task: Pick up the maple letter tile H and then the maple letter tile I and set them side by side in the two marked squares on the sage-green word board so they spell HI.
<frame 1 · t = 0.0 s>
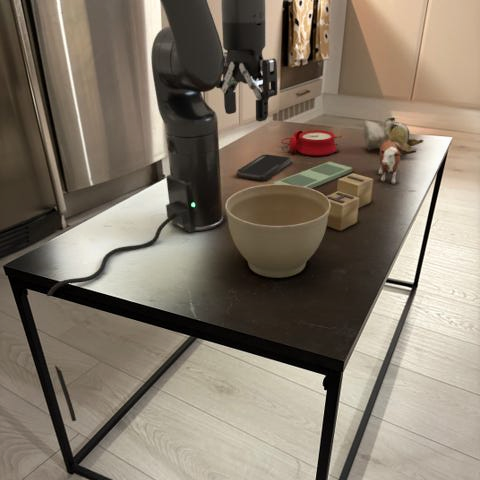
hand: (245, 116, 96), 17 cm above the table, tool pointing down, fingers open, 8 cm apart
tile H: (338, 223, 96), on the table
word board: (313, 179, 116), on the table
tile I: (353, 202, 104), on the table
phone: (264, 170, 122), on the table
alarm clock: (309, 151, 134), on the table
bull figurine: (386, 179, 115), on the table
ceramic sculpture: (389, 152, 131), on the table
planter bowl: (276, 265, 84), on the table
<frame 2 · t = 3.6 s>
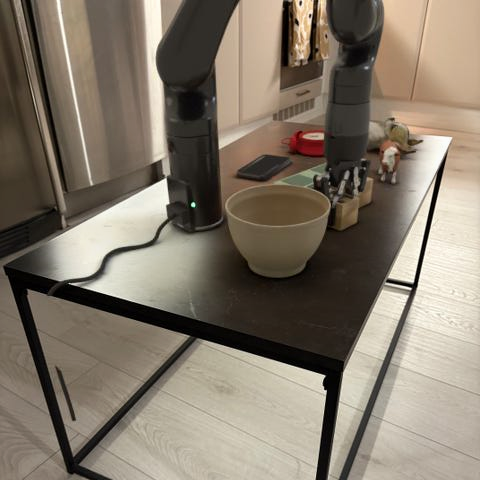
hand: (338, 220, 96), 1 cm above the table, tool pointing down, fingers closed on tile H, 5 cm apart
tile H: (338, 222, 96), on the table, touching gripper
everything else where it was.
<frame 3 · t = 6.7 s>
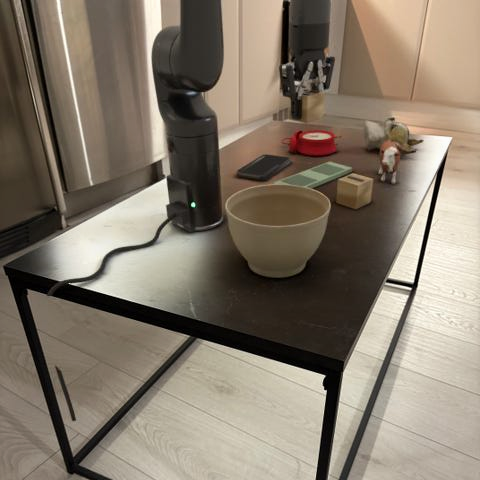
hand: (305, 115, 103), 15 cm above the table, tool pointing down, fingers closed on tile H, 5 cm apart
tile H: (305, 118, 103), point 15 cm above the table, touching gripper
everything else where it was.
when the fingers open (2 cm above the table, at t = 10.3 s): tile H stays where it is, resting on word board.
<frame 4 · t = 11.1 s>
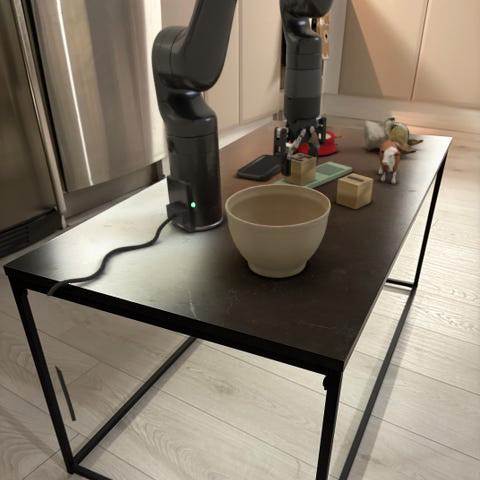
hand: (299, 170, 111), 3 cm above the table, tool pointing down, fingers open, 8 cm apart
tile H: (299, 180, 113), point 1 cm above the table, touching word board
everything else where it was.
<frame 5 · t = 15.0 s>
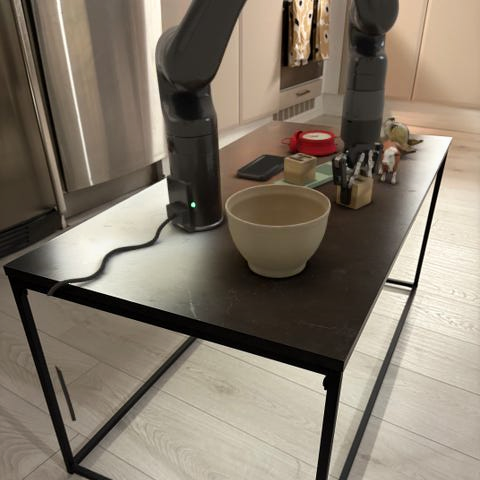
hand: (353, 199, 104), 1 cm above the table, tool pointing down, fingers closed on tile I, 5 cm apart
tile I: (353, 202, 104), on the table, touching gripper
everything else where it was.
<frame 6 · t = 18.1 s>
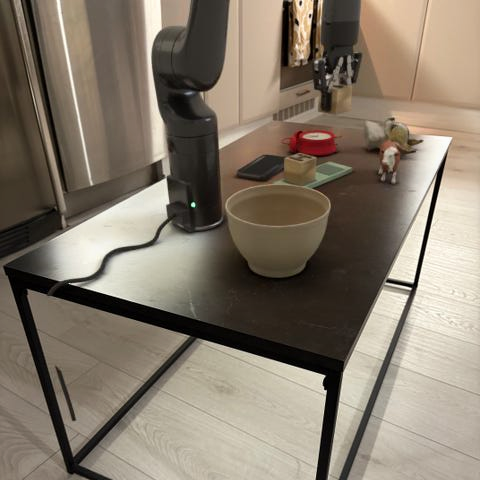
hand: (334, 108, 109), 15 cm above the table, tool pointing down, fingers closed on tile I, 5 cm apart
tile I: (334, 111, 110), point 14 cm above the table, touching gripper
everything else where it was.
when the fingers open (2 cm above the table, at t = 21.5 s): tile I stays where it is, resting on word board.
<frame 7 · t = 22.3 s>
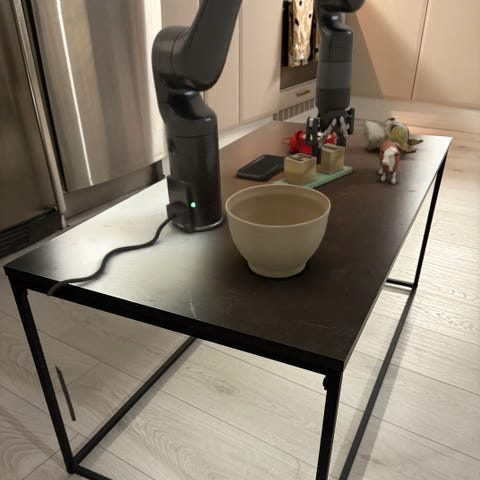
hand: (328, 159, 117), 3 cm above the table, tool pointing down, fingers open, 8 cm apart
tile I: (328, 169, 118), point 1 cm above the table, touching word board
everything else where it was.
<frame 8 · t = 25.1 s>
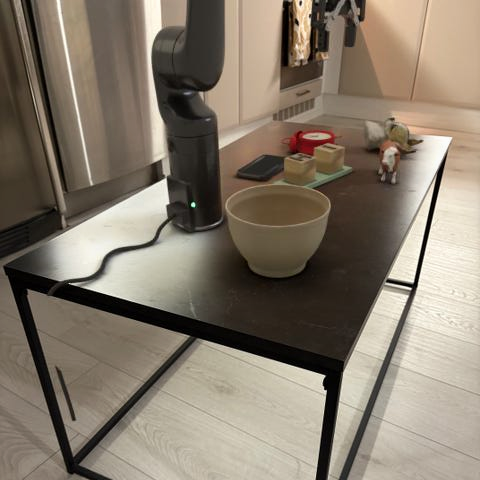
hand: (336, 49, 104), 26 cm above the table, tool pointing down, fingers open, 8 cm apart
nothing on the table moved.
at the end: tile H 0.2 cm from the target spot on the word board, point 1.1 cm above the word board's base; tile I 0.1 cm from the target spot on the word board, point 1.1 cm above the word board's base; tile I tilted 0° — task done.
